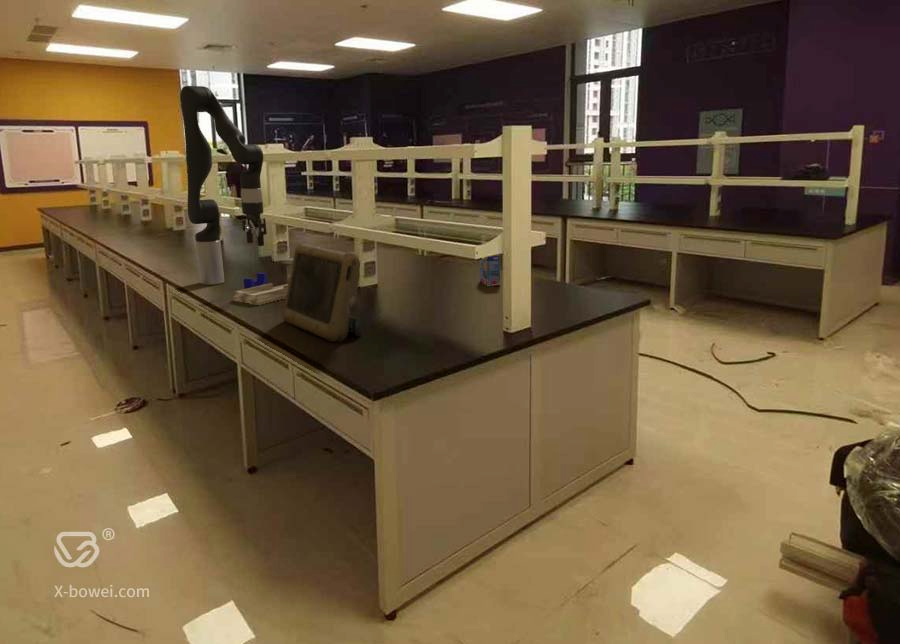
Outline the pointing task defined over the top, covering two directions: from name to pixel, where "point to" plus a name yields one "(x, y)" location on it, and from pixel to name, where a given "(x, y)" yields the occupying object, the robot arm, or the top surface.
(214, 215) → the robot arm
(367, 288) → the top surface
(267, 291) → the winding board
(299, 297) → the tablet
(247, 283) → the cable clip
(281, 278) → the top surface
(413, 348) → the top surface
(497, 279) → the ink cartridge box
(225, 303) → the top surface
